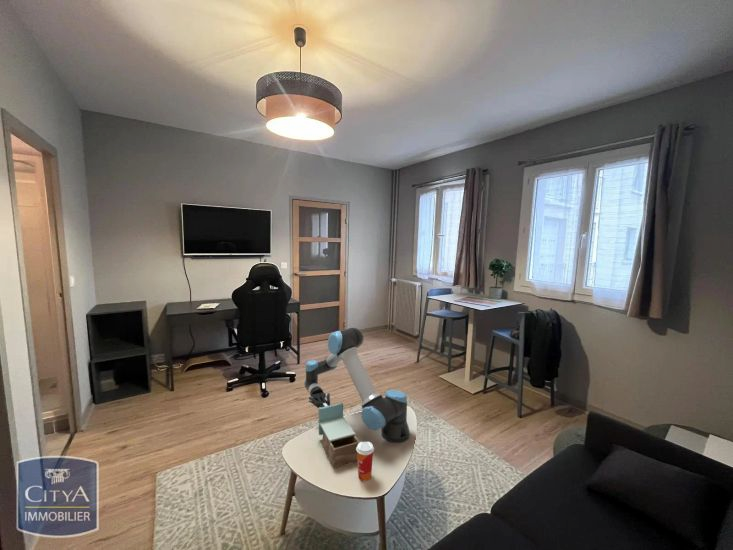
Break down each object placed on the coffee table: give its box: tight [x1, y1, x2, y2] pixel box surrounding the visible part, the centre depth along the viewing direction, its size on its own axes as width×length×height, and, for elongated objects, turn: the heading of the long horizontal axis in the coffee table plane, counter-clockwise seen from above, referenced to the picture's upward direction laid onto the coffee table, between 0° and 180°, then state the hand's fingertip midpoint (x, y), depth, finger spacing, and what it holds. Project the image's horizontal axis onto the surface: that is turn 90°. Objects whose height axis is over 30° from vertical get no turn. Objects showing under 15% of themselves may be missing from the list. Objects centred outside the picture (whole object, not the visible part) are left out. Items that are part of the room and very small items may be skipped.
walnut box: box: [322, 431, 361, 469], centre depth 146 cm, size 16×13×9 cm
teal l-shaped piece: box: [318, 402, 356, 442], centre depth 152 cm, size 18×13×14 cm
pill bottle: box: [356, 441, 375, 482], centre depth 132 cm, size 8×8×14 cm
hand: (328, 410), depth 163 cm, fingers closed
